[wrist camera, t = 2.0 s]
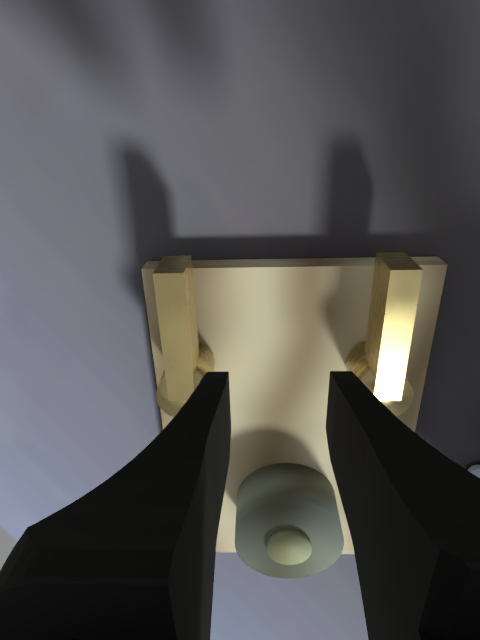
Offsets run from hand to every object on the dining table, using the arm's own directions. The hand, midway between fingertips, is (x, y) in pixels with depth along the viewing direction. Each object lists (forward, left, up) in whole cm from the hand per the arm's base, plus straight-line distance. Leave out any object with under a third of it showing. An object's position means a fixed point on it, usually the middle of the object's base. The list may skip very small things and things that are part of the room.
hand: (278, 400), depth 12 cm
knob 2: (-5, +2, -9) cm, 10 cm away
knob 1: (+4, +2, -8) cm, 10 cm away
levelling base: (-1, +9, -10) cm, 13 cm away
